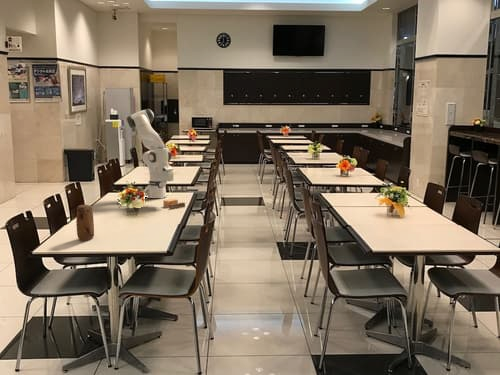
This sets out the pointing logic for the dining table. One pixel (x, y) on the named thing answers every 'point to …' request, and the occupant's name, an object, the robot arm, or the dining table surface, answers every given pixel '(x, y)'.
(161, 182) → the robot arm
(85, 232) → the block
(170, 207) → the walnut board
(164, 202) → the orange block
